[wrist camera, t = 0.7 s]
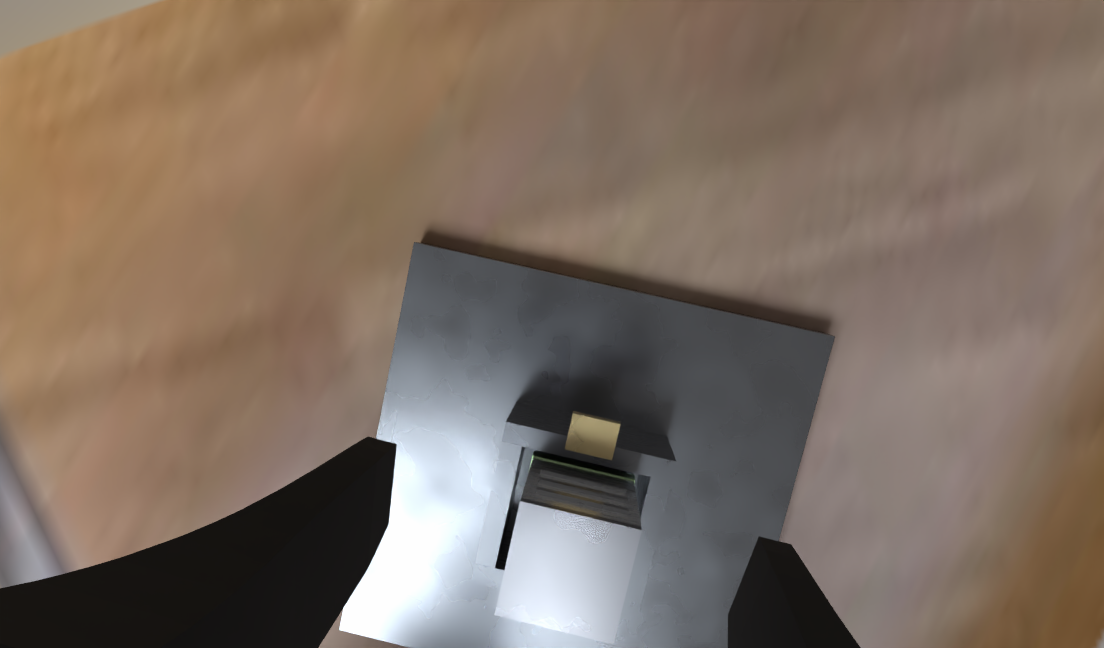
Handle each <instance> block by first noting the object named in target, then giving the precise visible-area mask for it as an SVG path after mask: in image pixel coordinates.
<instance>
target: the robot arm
mask: <svg viewBox="0 0 1104 648" xmlns="http://www.w3.org/2000/svg"><path fill="white" fill-rule="evenodd" d="M396 448H397V444H395V443H391V442H387V441H383V440H379V439H375V438H371V437H366V438H365V439H363V440H361V441H360V442H358V443H356V444H354V445H353V446H351V447H349V448H348V449H346V450H345V451H343V452H341V453H340V454H338V455H337V456H335V457H333V458H332V459H330V460H329V461H327V462H325V463H324V464H322V465H320V466H319V467H317V468H316V469H314V470H312V471H311V472H309V473H307V474H305V475H304V476H302V477H300V478H299V479H297V480H295V481H293V482H292V483H290V484H288V485H287V486H285V487H283V488H281V489H280V490H278V491H276V492H274V493H272V494H270V495H268V496H267V497H265V498H263V499H261V500H259V501H257V502H255V503H253V504H251V505H249V506H248V507H246V508H244V509H242V510H240V511H238V512H236V513H234V514H231V515H229V516H227V517H225V518H223V519H221V520H218V521H216V522H214V523H212V524H209V525H207V526H204V527H202V528H200V529H197V530H195V531H193V532H190V533H188V534H185V535H183V536H180V537H178V538H175V539H172V540H169V541H167V542H164V543H161V544H158V545H155V546H152V547H150V548H147V549H144V550H141V551H138V552H136V553H133V554H130V555H127V556H124V557H121V558H118V559H115V560H111V561H108V562H105V563H101V564H98V565H94V566H91V567H88V568H84V569H80V570H77V571H73V572H69V573H65V574H62V575H58V576H54V577H50V578H46V579H42V580H38V581H33V582H29V583H24V584H19V585H15V586H10V587H5V588H1V589H0V648H318V647H319V645H320V644H321V642H322V641H323V639H324V638H325V636H326V634H327V633H328V631H329V630H330V628H331V627H332V625H333V623H334V622H335V620H336V619H337V617H338V616H339V614H340V612H341V611H342V609H343V608H344V606H345V605H346V603H347V601H348V600H349V598H350V597H351V595H352V594H353V592H354V590H355V589H356V587H357V586H358V584H359V582H360V581H361V579H362V578H363V576H364V574H365V573H366V571H367V569H368V567H369V565H370V563H371V561H372V559H373V557H374V555H375V553H376V551H377V549H378V547H379V545H380V542H381V540H382V538H383V536H384V534H385V532H386V529H387V527H388V525H389V517H390V507H391V497H392V487H393V477H394V468H395V458H396ZM728 648H860V646H859V645H858V644H857V642H856V641H855V639H854V638H853V637H852V635H851V634H850V632H849V631H848V630H847V628H846V627H845V625H844V624H843V622H842V621H841V619H840V618H839V616H838V615H837V614H836V612H835V611H834V609H833V608H832V606H831V605H830V603H829V602H828V600H827V599H826V597H825V596H824V594H823V592H822V591H821V589H820V588H819V586H818V585H817V583H816V582H815V580H814V579H813V577H812V576H811V574H810V572H809V571H808V569H807V568H806V566H805V565H804V563H803V562H802V560H801V559H800V557H799V556H798V554H797V552H796V551H795V550H794V548H793V547H792V545H791V544H787V543H783V542H779V541H776V540H772V539H768V538H764V537H760V536H759V537H758V540H757V542H756V545H755V547H754V550H753V552H752V555H751V557H750V560H749V562H748V565H747V567H746V570H745V572H744V575H743V578H742V580H741V583H740V585H739V588H738V590H737V593H736V595H735V598H734V600H733V603H732V605H731V608H730V610H729V613H728Z"/></svg>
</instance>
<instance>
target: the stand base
mask: <svg viewBox="0 0 1104 648" xmlns="http://www.w3.org/2000/svg"><path fill="white" fill-rule="evenodd" d="M834 338H835V336H832V335H829V334H826V333H822V332H817V331H813V330H808V329H804V328H799V327H795V326H790V325H786V324H782V323H777V322H773V321H768V320H764V319H759V318H755V317H750V316H746V315H741V314H737V313H732V312H728V311H724V310H719V309H715V308H710V307H706V306H701V305H697V304H692V303H688V302H683V301H679V300H674V299H670V298H665V297H661V296H657V295H652V294H648V293H643V292H639V291H634V290H630V289H625V288H621V287H616V286H612V285H607V284H603V283H599V282H594V281H590V280H585V279H581V278H576V277H572V276H567V275H563V274H558V273H554V272H549V271H545V270H541V269H536V268H532V267H527V266H523V265H518V264H514V263H509V262H505V261H500V260H496V259H491V258H487V257H483V256H478V255H474V254H469V253H465V252H460V251H456V250H451V249H447V248H442V247H438V246H433V245H429V244H424V243H419V242H414V245H413V251H412V256H411V261H410V266H409V271H408V276H407V282H406V287H405V292H404V297H403V302H402V308H401V313H400V318H399V323H398V328H397V333H396V339H395V344H394V349H393V354H392V359H391V364H390V370H389V375H388V380H387V385H386V390H385V395H384V401H383V406H382V411H381V416H380V421H379V427H378V432H377V437H376V439H379V440H383V441H387V442H391V443H395V444H397V448H396V458H395V468H394V477H393V487H392V497H391V507H390V517H389V525H388V527H387V529H386V532H385V534H384V536H383V538H382V540H381V542H380V545H379V547H378V549H377V551H376V553H375V555H374V557H373V559H372V561H371V563H370V565H369V567H368V569H367V571H366V573H365V574H364V576H363V578H362V579H361V581H360V582H359V584H358V586H357V587H356V589H355V590H354V592H353V594H352V595H351V597H350V598H349V600H348V601H347V603H346V605H345V606H344V608H343V613H342V618H341V623H340V628H339V630H341V631H345V632H349V633H353V634H357V635H361V636H365V637H369V638H373V639H377V640H381V641H385V642H389V643H393V644H397V645H401V646H405V647H409V648H728V613H729V610H730V608H731V605H732V603H733V600H734V598H735V595H736V593H737V590H738V588H739V585H740V583H741V580H742V578H743V575H744V572H745V570H746V567H747V565H748V562H749V560H750V557H751V555H752V552H753V550H754V547H755V545H756V542H757V540H758V537H759V536H760V537H764V538H768V539H772V540H776V541H779V537H780V534H781V530H782V527H783V523H784V519H785V516H786V512H787V508H788V505H789V501H790V498H791V494H792V490H793V487H794V483H795V479H796V476H797V472H798V469H799V465H800V461H801V458H802V454H803V450H804V447H805V443H806V439H807V436H808V432H809V429H810V425H811V421H812V418H813V414H814V410H815V407H816V403H817V400H818V396H819V392H820V389H821V385H822V381H823V378H824V374H825V371H826V367H827V363H828V360H829V356H830V352H831V349H832V345H833V342H834ZM535 450H539V451H543V452H547V453H552V454H556V455H560V456H564V457H569V458H573V459H577V460H581V461H586V462H590V463H594V464H598V465H603V466H607V467H611V468H615V469H620V470H624V471H628V472H632V473H633V474H634V475H635V491H636V497H637V503H638V509H639V515H640V522H641V528H642V532H641V536H640V540H639V544H638V548H637V552H636V556H635V560H634V564H633V568H632V572H631V576H630V580H629V584H628V588H627V592H626V596H625V600H624V604H623V608H622V612H621V616H620V620H619V624H618V628H617V632H616V636H615V640H614V644H610V643H606V642H602V641H598V640H593V639H589V638H585V637H581V636H577V635H573V634H569V633H565V632H561V631H557V630H553V629H549V628H545V627H541V626H537V625H533V624H529V623H524V622H520V621H516V620H512V619H508V618H504V617H500V616H496V615H495V610H496V606H497V601H498V597H499V592H500V588H501V583H502V579H503V575H504V570H505V566H506V561H507V557H508V552H509V548H510V543H511V539H512V534H513V530H514V525H515V521H516V516H517V512H518V507H519V503H520V499H521V496H522V493H523V489H524V486H525V483H526V480H527V476H528V473H529V468H530V464H531V459H532V455H533V452H534V451H535Z"/></svg>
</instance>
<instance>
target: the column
mask: <svg viewBox="0 0 1104 648" xmlns="http://www.w3.org/2000/svg"><path fill="white" fill-rule="evenodd" d="M641 532H642V528H641V522H640V515H639V509H638V503H637V497H636V491H635V475H634V474H633V473H632V472H628V471H624V470H620V469H615V468H611V467H607V466H603V465H598V464H594V463H590V462H586V461H581V460H577V459H573V458H569V457H564V456H560V455H556V454H552V453H547V452H543V451H539V450H535V451H534V452H533V455H532V459H531V464H530V468H529V473H528V476H527V480H526V483H525V486H524V489H523V493H522V496H521V499H520V503H519V507H518V512H517V516H516V521H515V525H514V530H513V534H512V539H511V543H510V548H509V552H508V557H507V561H506V566H505V570H504V575H503V579H502V583H501V588H500V592H499V597H498V601H497V606H496V610H495V615H496V616H500V617H504V618H508V619H512V620H516V621H520V622H524V623H529V624H533V625H537V626H541V627H545V628H549V629H553V630H557V631H561V632H565V633H569V634H573V635H577V636H581V637H585V638H589V639H593V640H598V641H602V642H606V643H610V644H614V640H615V636H616V632H617V628H618V624H619V620H620V616H621V612H622V608H623V604H624V600H625V596H626V592H627V588H628V584H629V580H630V576H631V572H632V568H633V564H634V560H635V556H636V552H637V548H638V544H639V540H640V536H641Z"/></svg>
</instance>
